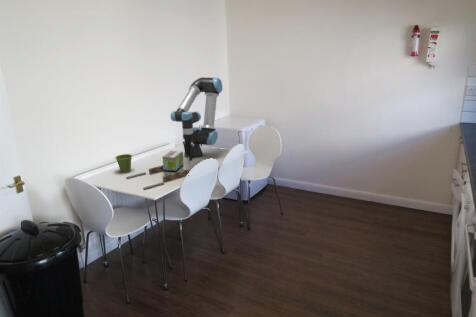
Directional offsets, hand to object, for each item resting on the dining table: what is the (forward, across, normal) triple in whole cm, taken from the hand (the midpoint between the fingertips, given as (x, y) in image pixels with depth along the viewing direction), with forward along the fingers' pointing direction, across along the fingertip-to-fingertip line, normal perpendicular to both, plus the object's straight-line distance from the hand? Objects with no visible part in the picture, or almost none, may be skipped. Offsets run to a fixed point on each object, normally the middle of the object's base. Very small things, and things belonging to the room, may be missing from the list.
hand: (190, 164), depth 260 cm
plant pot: (+4, -29, -38) cm, 48 cm away
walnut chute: (+3, 0, -17) cm, 18 cm away
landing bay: (+3, 0, -37) cm, 37 cm away
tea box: (+4, 0, -14) cm, 14 cm away
